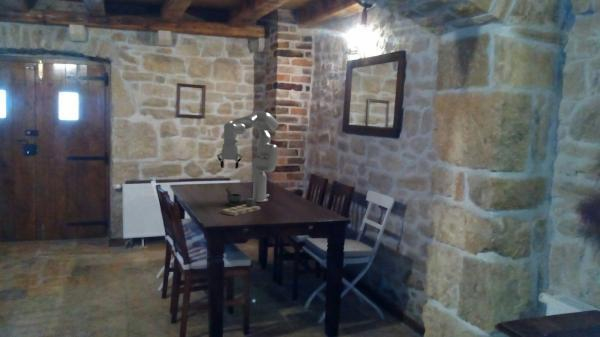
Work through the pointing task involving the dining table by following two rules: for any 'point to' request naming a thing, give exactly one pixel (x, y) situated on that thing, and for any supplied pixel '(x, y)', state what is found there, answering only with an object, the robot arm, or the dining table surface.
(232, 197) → the mortar and pestle
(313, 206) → the dining table surface
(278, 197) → the dining table surface
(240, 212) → the fader board
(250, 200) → the fader knob
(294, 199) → the dining table surface
